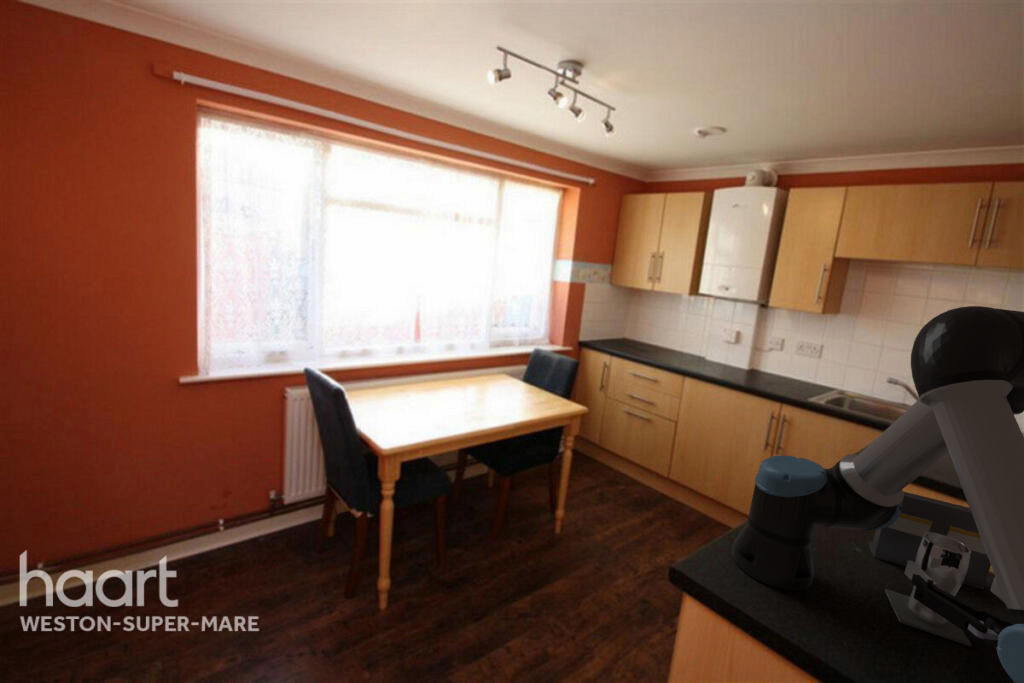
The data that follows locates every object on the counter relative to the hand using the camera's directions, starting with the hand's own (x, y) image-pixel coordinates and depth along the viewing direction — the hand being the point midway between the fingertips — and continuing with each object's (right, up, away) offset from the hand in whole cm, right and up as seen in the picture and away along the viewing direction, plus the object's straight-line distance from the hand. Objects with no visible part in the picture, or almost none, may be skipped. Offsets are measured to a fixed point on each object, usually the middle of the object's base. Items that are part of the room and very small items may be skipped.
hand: (950, 575), depth 84 cm
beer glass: (-1, -10, +4) cm, 11 cm away
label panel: (+13, -9, +20) cm, 26 cm away
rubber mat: (-1, -10, +4) cm, 11 cm away
